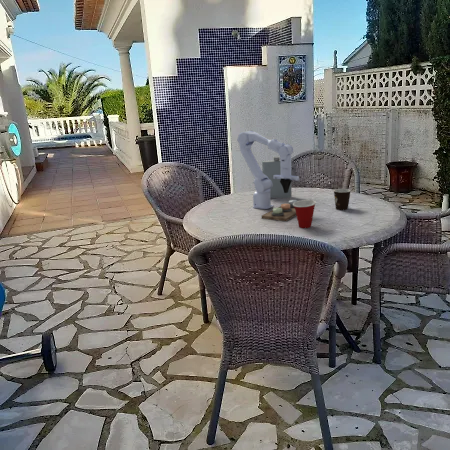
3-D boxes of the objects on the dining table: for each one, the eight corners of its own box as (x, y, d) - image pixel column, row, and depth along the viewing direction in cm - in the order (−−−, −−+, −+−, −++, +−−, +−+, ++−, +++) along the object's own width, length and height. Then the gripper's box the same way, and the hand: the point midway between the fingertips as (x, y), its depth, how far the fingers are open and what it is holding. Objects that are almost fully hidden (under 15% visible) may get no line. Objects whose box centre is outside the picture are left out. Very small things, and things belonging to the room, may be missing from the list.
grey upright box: (291, 195, 264) (290, 155, 257) (291, 197, 260) (290, 156, 253) (263, 196, 267) (262, 156, 260) (263, 198, 263) (261, 157, 256)
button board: (261, 218, 220) (261, 213, 219) (285, 206, 241) (285, 201, 240) (285, 221, 212) (285, 216, 211) (308, 208, 233) (308, 204, 232)
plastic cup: (290, 224, 206) (290, 200, 203) (312, 222, 207) (312, 198, 204) (295, 231, 196) (295, 205, 193) (318, 229, 197) (318, 204, 193)
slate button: (287, 205, 232) (287, 201, 231) (291, 203, 236) (291, 199, 235) (295, 205, 229) (295, 202, 229) (299, 203, 233) (299, 200, 232)
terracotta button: (279, 209, 225) (279, 205, 224) (283, 206, 229) (283, 203, 228) (287, 209, 222) (287, 206, 222) (291, 207, 226) (291, 204, 225)
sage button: (271, 213, 218) (271, 209, 217) (275, 210, 222) (275, 207, 221) (279, 214, 215) (279, 210, 215) (283, 211, 219) (283, 208, 218)
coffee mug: (350, 210, 223) (351, 192, 220) (333, 210, 225) (334, 192, 222) (349, 205, 234) (349, 187, 231) (333, 205, 236) (333, 187, 233)
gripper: (270, 168, 227) (270, 193, 231) (294, 169, 219) (294, 195, 223) (276, 166, 232) (277, 190, 236) (300, 167, 224) (300, 192, 228)
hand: (286, 192), depth 230 cm, fingers closed
